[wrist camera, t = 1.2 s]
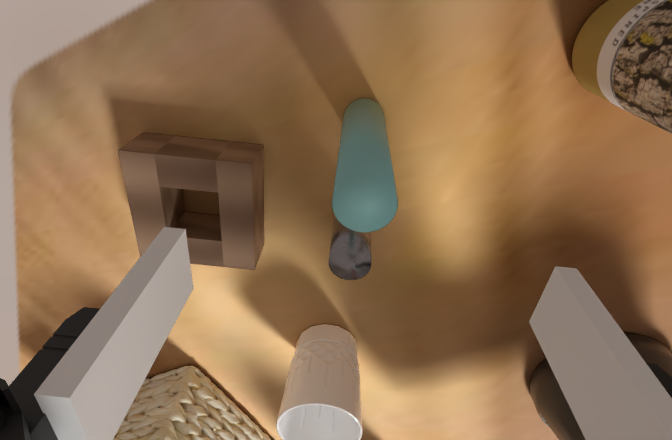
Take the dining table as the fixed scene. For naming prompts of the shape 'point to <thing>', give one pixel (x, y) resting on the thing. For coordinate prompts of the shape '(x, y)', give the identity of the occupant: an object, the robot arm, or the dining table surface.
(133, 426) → the storage basket
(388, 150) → the long pin
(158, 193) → the hole block
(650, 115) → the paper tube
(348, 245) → the short pin
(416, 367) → the dining table surface
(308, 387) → the white cup
